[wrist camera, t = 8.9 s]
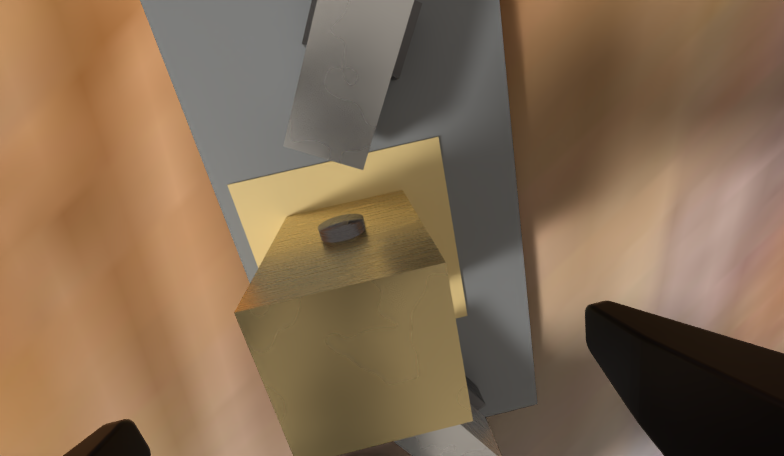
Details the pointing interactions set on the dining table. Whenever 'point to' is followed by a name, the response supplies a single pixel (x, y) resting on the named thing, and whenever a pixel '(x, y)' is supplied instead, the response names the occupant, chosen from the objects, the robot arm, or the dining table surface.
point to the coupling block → (355, 328)
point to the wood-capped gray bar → (366, 134)
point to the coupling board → (370, 154)
